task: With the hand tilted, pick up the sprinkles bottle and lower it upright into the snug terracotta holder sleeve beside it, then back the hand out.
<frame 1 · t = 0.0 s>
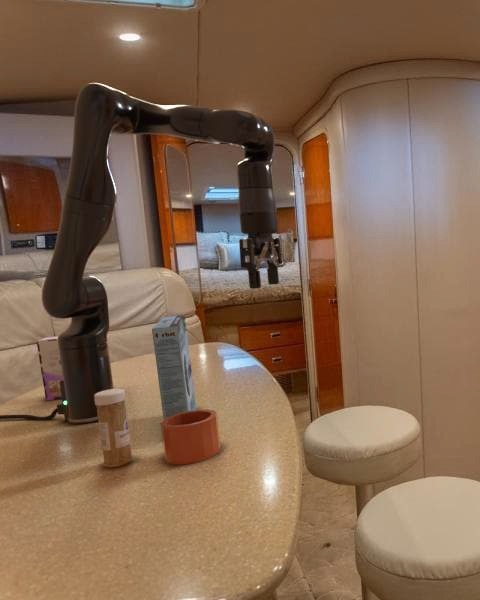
hand: (264, 286, 111), 29 cm above the table, tool pointing down, fingers open, 8 cm apart
sprinkles bottle: (118, 463, 93), on the table
gum box: (182, 423, 113), on the table
holder: (193, 453, 95), on the table
candy box: (79, 395, 139), on the table
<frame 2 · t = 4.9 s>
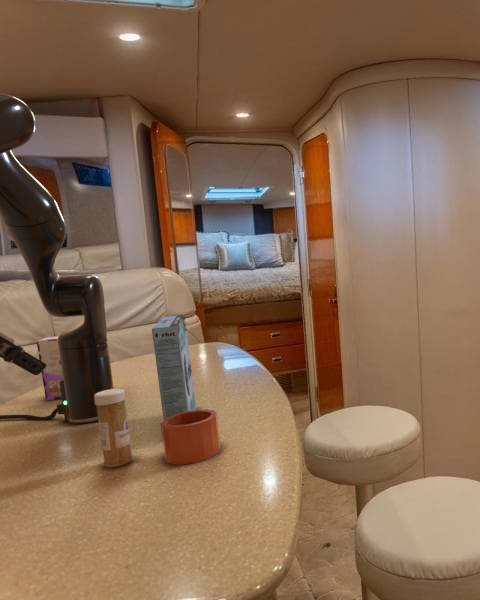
hand: (37, 367, 84), 20 cm above the table, tool tilted 45°, fingers open, 8 cm apart
nothing on the table moved.
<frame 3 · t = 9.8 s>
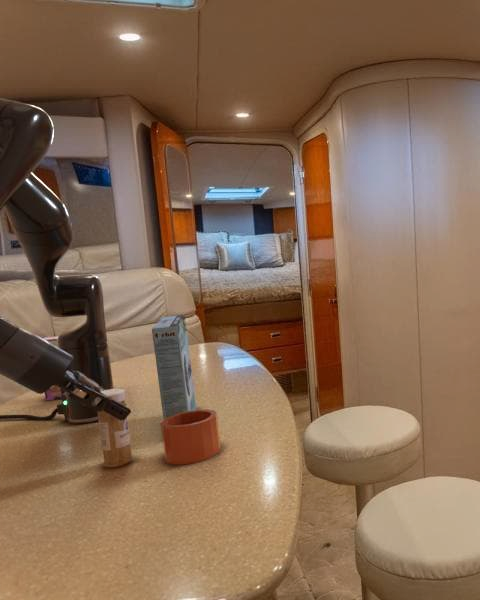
hand: (124, 412, 93), 9 cm above the table, tool tilted 45°, fingers closed on sprinkles bottle, 4 cm apart
sprinkles bottle: (118, 463, 93), on the table, touching gripper
everything else where it was.
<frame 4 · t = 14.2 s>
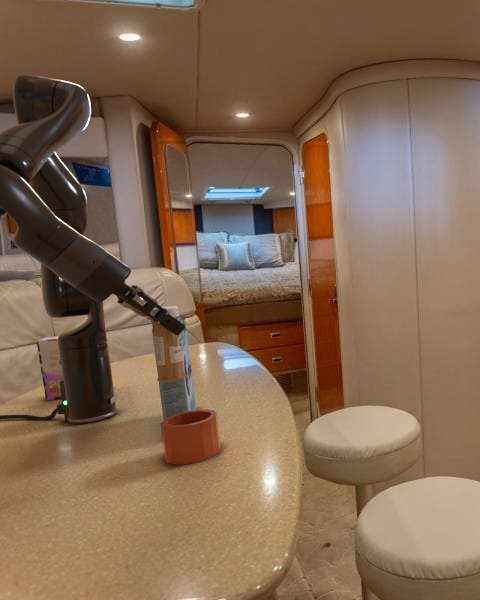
hand: (177, 329, 93), 24 cm above the table, tool tilted 45°, fingers closed on sprinkles bottle, 4 cm apart
sprinkles bottle: (171, 380, 93), point 14 cm above the table, touching gripper
everything else where it was.
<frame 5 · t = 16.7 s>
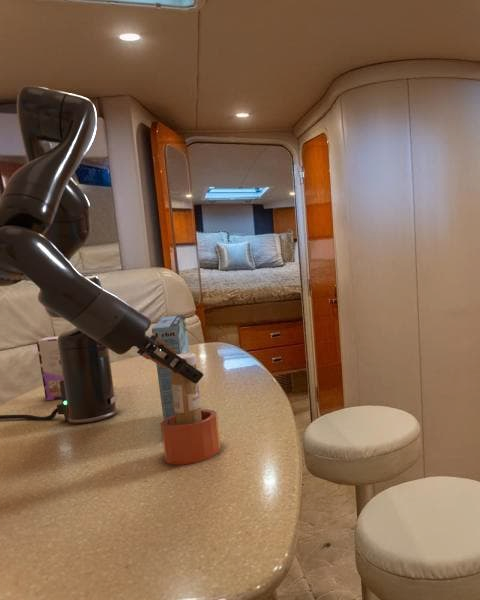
hand: (195, 376, 95), 15 cm above the table, tool tilted 45°, fingers closed on sprinkles bottle, 4 cm apart
sprinkles bottle: (189, 427, 95), point 5 cm above the table, touching gripper
everything else where it was.
when the fingers open (10 cm above the table, at t = 18.5 s): sprinkles bottle stays where it is, resting on holder.
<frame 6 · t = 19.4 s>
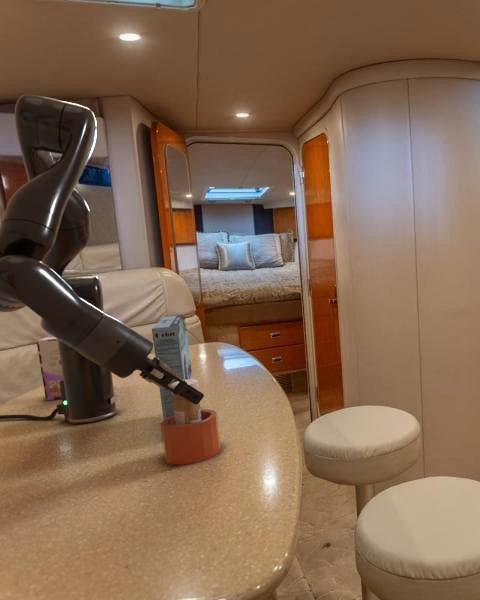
hand: (194, 395, 95), 11 cm above the table, tool tilted 45°, fingers open, 8 cm apart
sprinkles bottle: (192, 452, 95), resting on holder
everything else where it was.
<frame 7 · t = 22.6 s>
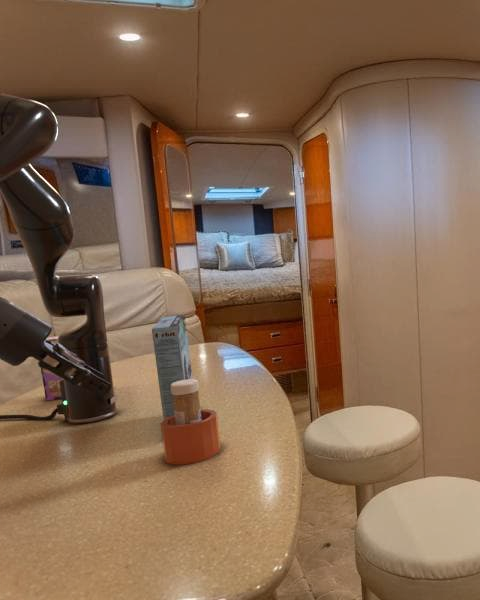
hand: (104, 385, 86), 16 cm above the table, tool tilted 45°, fingers open, 8 cm apart
nothing on the table moved.
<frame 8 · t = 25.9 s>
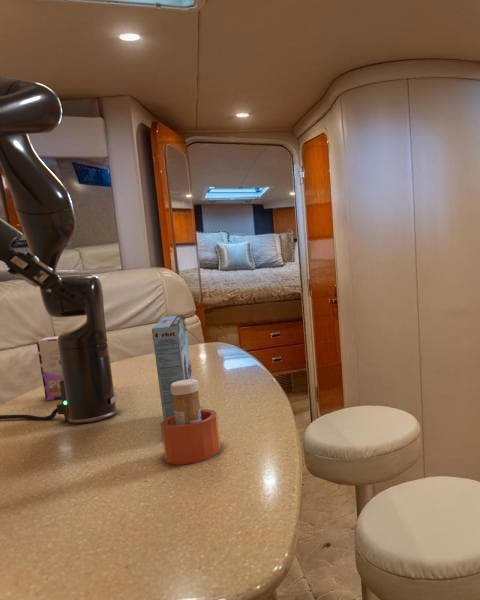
hand: (78, 300, 83), 31 cm above the table, tool tilted 45°, fingers open, 8 cm apart
nothing on the table moved.
at the end: sprinkles bottle 0.1 cm off-centre in the holder, point 0.3 cm above the holder's base; sprinkles bottle tilted 0°; the gripper is holding nothing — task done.
